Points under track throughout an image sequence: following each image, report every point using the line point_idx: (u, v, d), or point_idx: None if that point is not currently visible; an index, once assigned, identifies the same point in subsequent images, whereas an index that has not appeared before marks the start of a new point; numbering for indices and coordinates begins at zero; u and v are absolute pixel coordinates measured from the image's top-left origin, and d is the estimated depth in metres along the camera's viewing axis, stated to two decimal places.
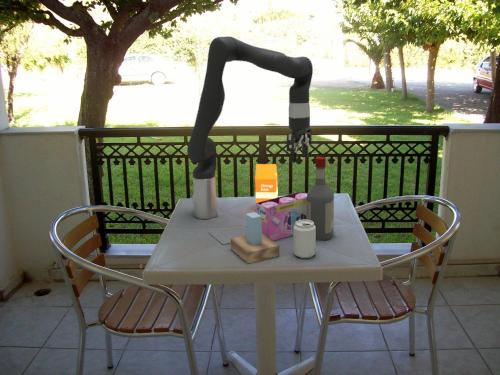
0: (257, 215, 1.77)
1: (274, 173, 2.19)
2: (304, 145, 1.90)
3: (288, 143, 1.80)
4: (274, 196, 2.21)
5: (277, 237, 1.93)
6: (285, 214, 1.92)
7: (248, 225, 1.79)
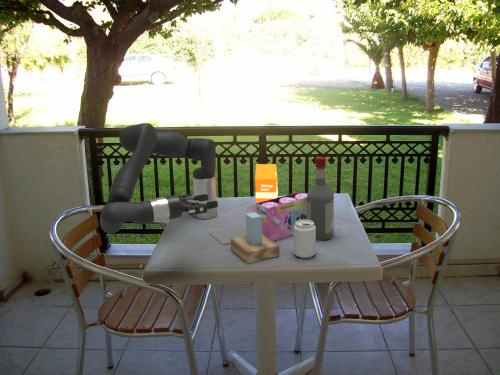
0: (257, 215, 1.77)
1: (274, 173, 2.19)
2: None
3: None
4: (274, 196, 2.21)
5: (277, 237, 1.92)
6: (285, 214, 1.92)
7: (248, 225, 1.79)
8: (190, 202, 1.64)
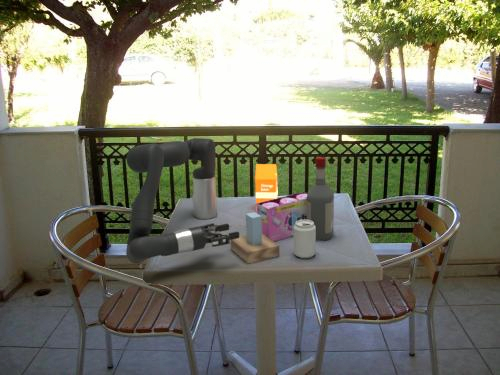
0: (257, 215, 1.77)
1: (274, 173, 2.19)
2: None
3: None
4: (274, 196, 2.21)
5: (278, 238, 1.92)
6: (285, 215, 1.91)
7: (248, 225, 1.79)
8: (213, 233, 1.70)
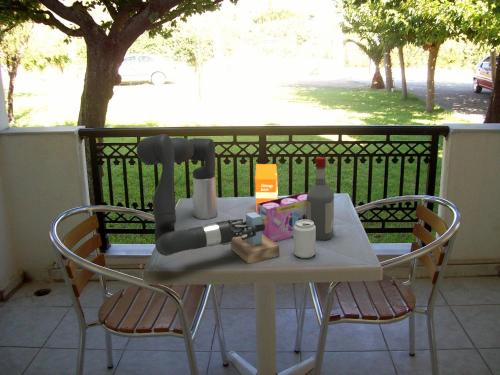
0: (257, 215, 1.77)
1: (274, 173, 2.19)
2: None
3: None
4: (274, 196, 2.21)
5: (278, 238, 1.91)
6: (286, 215, 1.91)
7: (248, 225, 1.79)
8: (240, 227, 1.74)
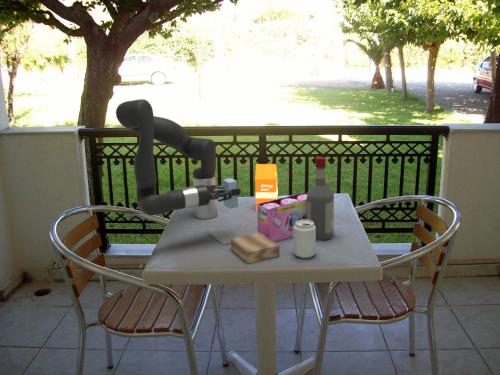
0: (233, 180, 1.92)
1: (274, 173, 2.19)
2: None
3: None
4: (274, 196, 2.21)
5: (278, 238, 1.91)
6: (286, 216, 1.90)
7: None
8: (217, 191, 1.88)
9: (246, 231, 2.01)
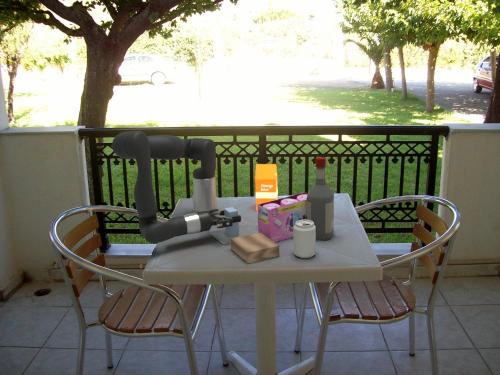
0: (234, 210, 1.95)
1: (274, 173, 2.19)
2: None
3: None
4: (274, 196, 2.21)
5: (279, 239, 1.91)
6: (287, 216, 1.90)
7: (226, 219, 1.96)
8: (217, 217, 1.91)
9: (246, 231, 2.01)
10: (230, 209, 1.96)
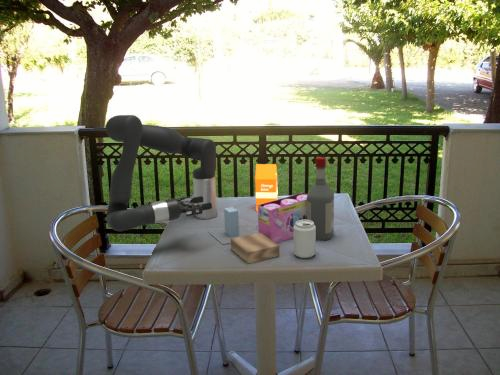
0: (234, 210, 1.95)
1: (274, 173, 2.19)
2: None
3: None
4: (274, 196, 2.21)
5: (280, 239, 1.90)
6: (287, 216, 1.90)
7: (226, 219, 1.96)
8: (187, 204, 1.85)
9: (246, 231, 2.01)
10: (230, 209, 1.96)
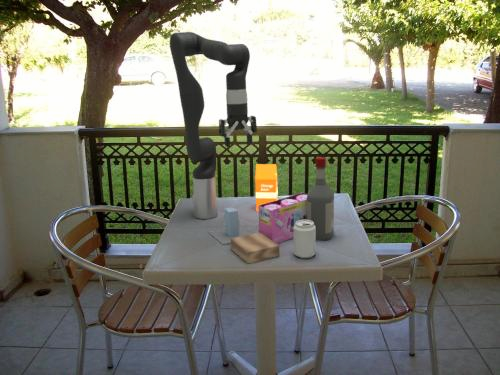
0: (234, 210, 1.95)
1: (274, 173, 2.19)
2: (248, 132, 1.92)
3: (219, 127, 1.87)
4: (274, 196, 2.21)
5: (281, 240, 1.90)
6: (288, 216, 1.90)
7: (226, 219, 1.96)
8: None
9: (246, 231, 2.01)
10: (230, 209, 1.96)
